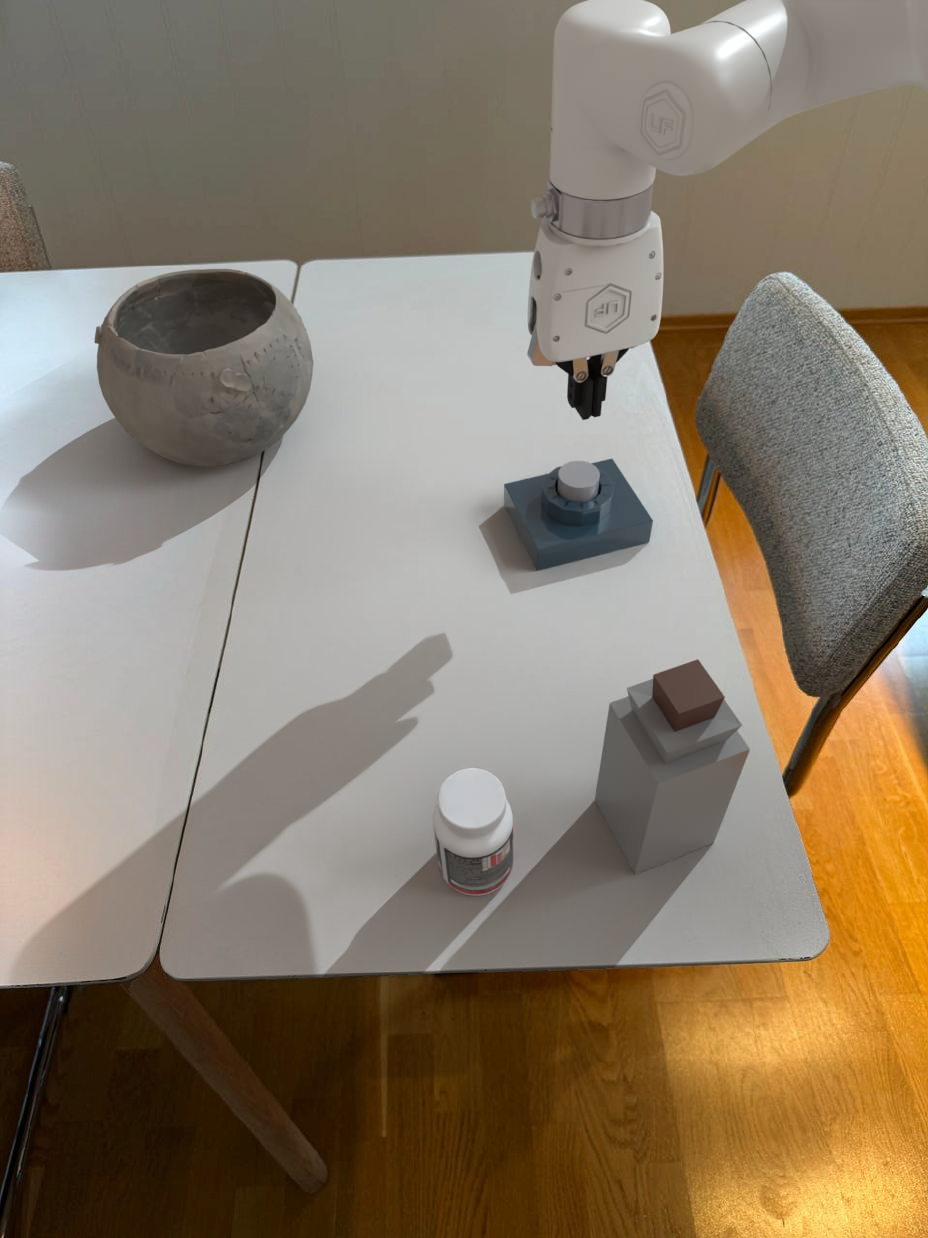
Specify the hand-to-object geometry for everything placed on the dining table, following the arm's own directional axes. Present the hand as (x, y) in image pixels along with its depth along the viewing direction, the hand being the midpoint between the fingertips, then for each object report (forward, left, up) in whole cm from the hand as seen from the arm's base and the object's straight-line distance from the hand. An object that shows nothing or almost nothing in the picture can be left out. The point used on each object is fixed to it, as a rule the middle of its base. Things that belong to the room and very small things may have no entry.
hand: (585, 408), depth 80 cm
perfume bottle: (+6, +32, -15) cm, 36 cm away
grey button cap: (0, -1, -10) cm, 10 cm away
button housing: (0, -1, -15) cm, 15 cm away
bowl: (+32, -30, -15) cm, 46 cm away
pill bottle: (+21, +31, -15) cm, 40 cm away
